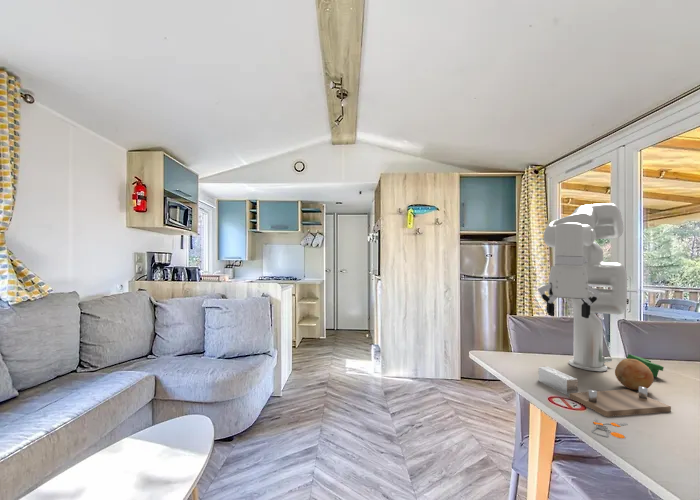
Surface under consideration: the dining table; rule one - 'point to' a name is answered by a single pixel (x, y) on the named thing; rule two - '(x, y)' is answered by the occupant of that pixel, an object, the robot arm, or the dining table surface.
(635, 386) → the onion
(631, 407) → the peg board
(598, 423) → the key chain
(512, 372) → the dining table surface
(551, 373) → the silver metal block
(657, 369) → the clamp
